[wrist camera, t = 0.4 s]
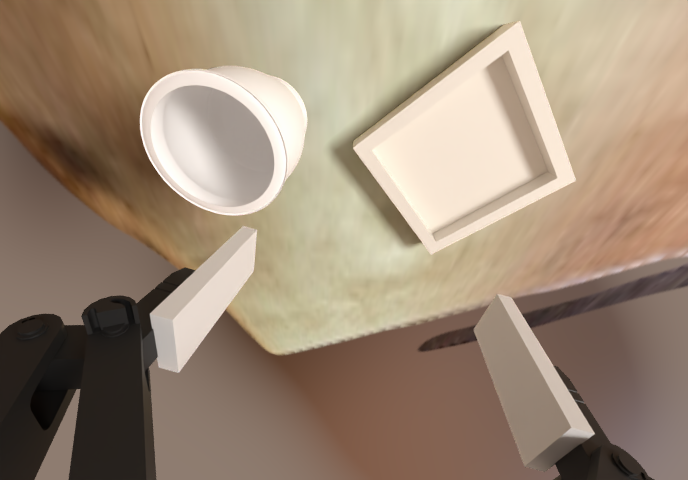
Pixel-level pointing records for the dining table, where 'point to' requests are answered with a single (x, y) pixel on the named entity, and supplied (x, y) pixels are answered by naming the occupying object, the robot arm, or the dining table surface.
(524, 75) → the white square tray
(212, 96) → the jar
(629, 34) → the dining table surface
